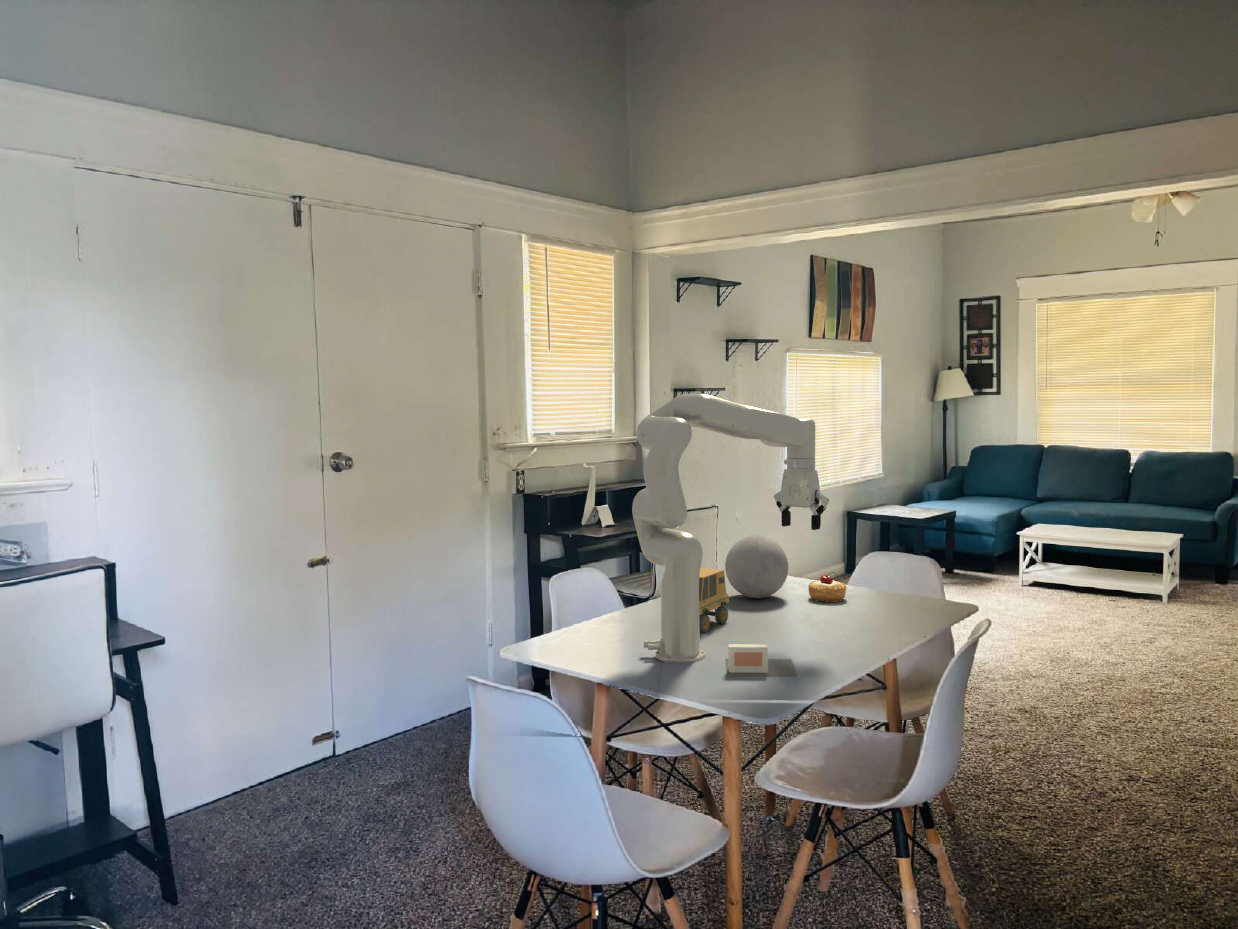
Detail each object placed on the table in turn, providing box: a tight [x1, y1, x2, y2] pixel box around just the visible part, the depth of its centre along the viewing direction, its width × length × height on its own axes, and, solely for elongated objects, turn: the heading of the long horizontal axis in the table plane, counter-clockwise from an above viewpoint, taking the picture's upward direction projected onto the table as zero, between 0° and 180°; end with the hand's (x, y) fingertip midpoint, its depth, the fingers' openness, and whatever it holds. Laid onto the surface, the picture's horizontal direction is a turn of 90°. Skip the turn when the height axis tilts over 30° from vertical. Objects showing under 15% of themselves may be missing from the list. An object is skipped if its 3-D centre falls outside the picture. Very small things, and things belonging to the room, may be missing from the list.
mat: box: [725, 658, 798, 678], centre depth 220 cm, size 16×14×1 cm
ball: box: [724, 534, 789, 599], centre depth 297 cm, size 20×20×20 cm
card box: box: [727, 643, 769, 673], centre depth 217 cm, size 9×3×6 cm, turn 85°
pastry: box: [808, 571, 847, 603], centre depth 293 cm, size 12×12×9 cm
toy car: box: [699, 567, 731, 633], centre depth 263 cm, size 10×19×15 cm, turn 146°
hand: (800, 527), depth 251 cm, fingers open, 9 cm apart
